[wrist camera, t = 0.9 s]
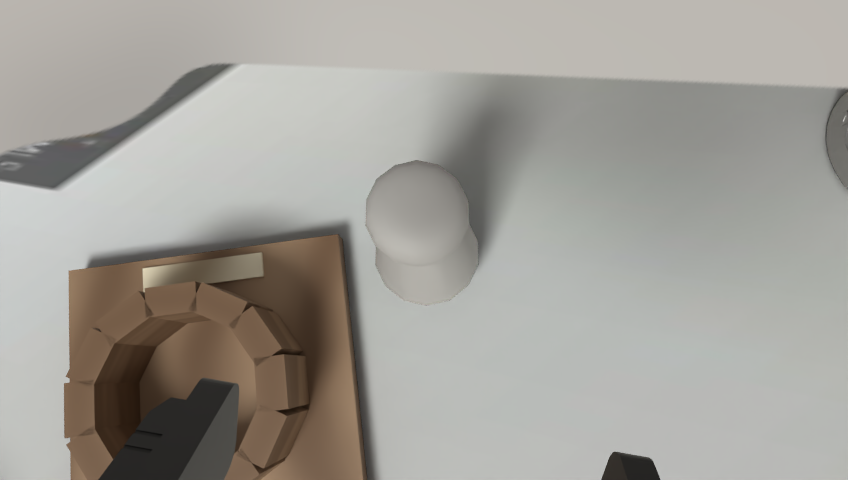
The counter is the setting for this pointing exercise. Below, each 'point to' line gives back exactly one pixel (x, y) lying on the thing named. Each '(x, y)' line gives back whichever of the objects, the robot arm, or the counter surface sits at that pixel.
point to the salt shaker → (421, 232)
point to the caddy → (220, 355)
